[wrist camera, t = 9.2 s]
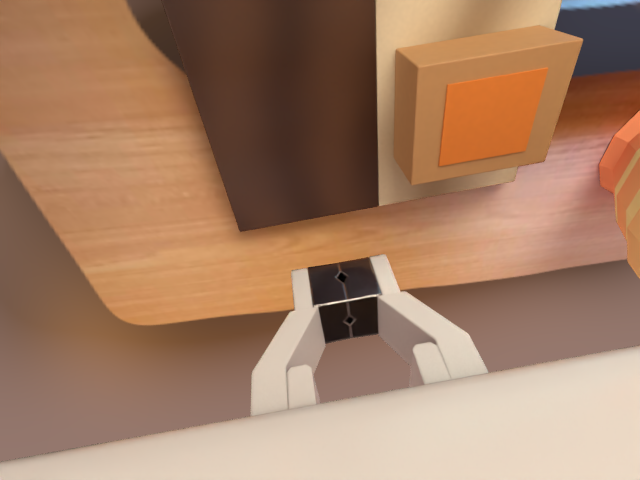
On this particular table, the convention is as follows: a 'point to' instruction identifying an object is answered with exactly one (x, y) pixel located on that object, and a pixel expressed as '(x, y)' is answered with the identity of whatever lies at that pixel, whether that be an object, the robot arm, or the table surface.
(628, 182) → the potted cactus
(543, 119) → the coffee packet
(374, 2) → the board
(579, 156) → the table surface
